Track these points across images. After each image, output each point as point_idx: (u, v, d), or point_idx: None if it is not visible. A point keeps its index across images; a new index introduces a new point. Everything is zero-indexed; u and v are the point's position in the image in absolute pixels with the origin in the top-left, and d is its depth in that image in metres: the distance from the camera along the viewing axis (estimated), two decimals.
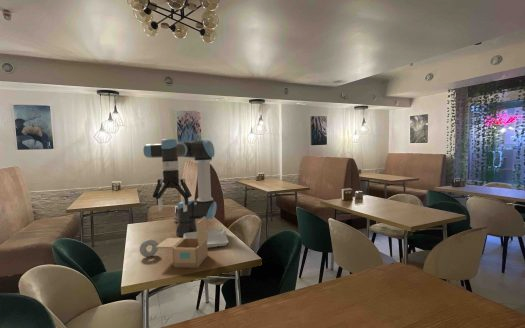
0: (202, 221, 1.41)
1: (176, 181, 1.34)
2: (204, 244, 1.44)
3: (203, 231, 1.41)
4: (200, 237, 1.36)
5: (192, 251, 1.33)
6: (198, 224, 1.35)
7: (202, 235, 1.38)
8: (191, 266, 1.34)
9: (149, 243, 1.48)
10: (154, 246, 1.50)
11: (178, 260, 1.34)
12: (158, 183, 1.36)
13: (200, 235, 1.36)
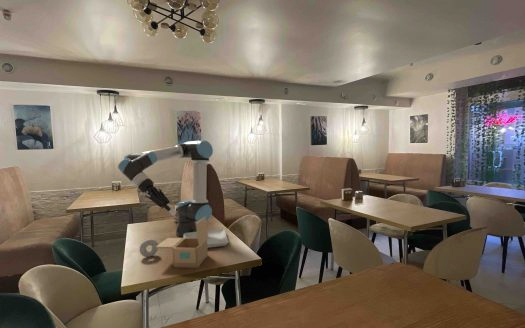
0: (202, 221, 1.41)
1: None
2: (204, 244, 1.44)
3: (203, 231, 1.41)
4: (200, 237, 1.36)
5: (192, 251, 1.33)
6: (198, 224, 1.35)
7: (202, 235, 1.38)
8: (191, 266, 1.34)
9: (149, 243, 1.48)
10: (154, 246, 1.50)
11: (178, 260, 1.34)
12: None
13: (200, 235, 1.36)
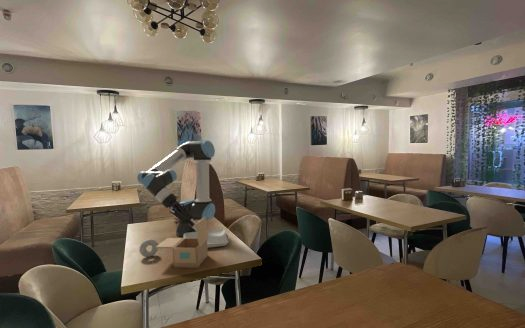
0: (202, 221, 1.41)
1: None
2: (204, 244, 1.44)
3: (203, 231, 1.41)
4: (200, 237, 1.36)
5: (192, 251, 1.33)
6: (198, 224, 1.35)
7: (202, 235, 1.38)
8: (191, 266, 1.34)
9: (149, 243, 1.48)
10: (154, 246, 1.50)
11: (178, 260, 1.34)
12: None
13: (200, 235, 1.36)
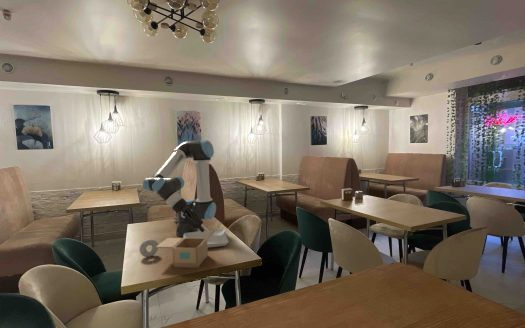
0: None
1: None
2: (204, 244, 1.44)
3: None
4: None
5: (192, 251, 1.33)
6: (214, 231, 1.34)
7: None
8: (191, 266, 1.34)
9: (149, 243, 1.48)
10: (154, 246, 1.50)
11: (178, 260, 1.34)
12: None
13: None
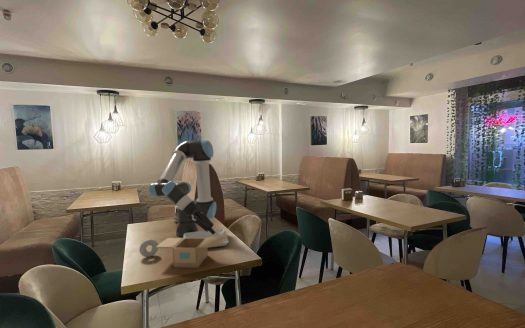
0: None
1: None
2: None
3: None
4: None
5: (192, 251, 1.33)
6: None
7: None
8: (191, 266, 1.34)
9: (149, 243, 1.48)
10: (154, 246, 1.50)
11: (178, 260, 1.34)
12: None
13: None
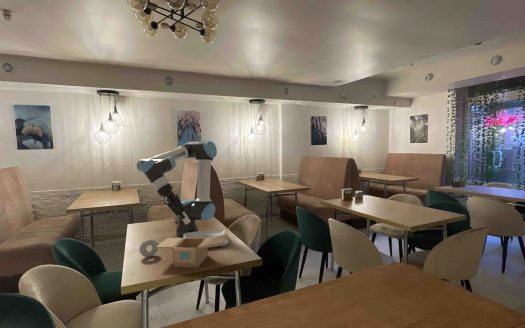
0: None
1: None
2: None
3: None
4: None
5: (192, 251, 1.33)
6: None
7: None
8: (191, 266, 1.34)
9: (149, 243, 1.48)
10: (154, 246, 1.50)
11: (178, 260, 1.34)
12: None
13: None
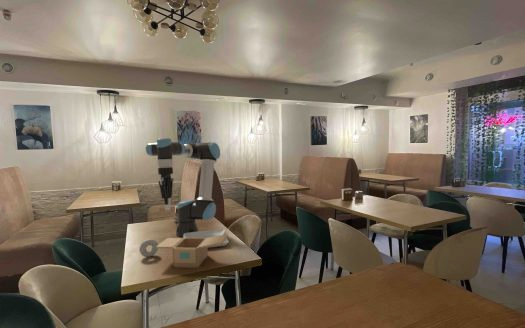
0: None
1: None
2: None
3: None
4: None
5: (192, 251, 1.33)
6: None
7: None
8: (191, 266, 1.34)
9: (149, 243, 1.48)
10: (154, 246, 1.50)
11: (178, 260, 1.34)
12: None
13: None
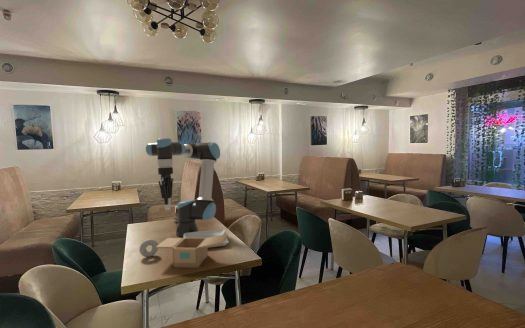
0: None
1: None
2: None
3: None
4: None
5: (192, 251, 1.33)
6: None
7: None
8: (191, 266, 1.34)
9: (149, 243, 1.48)
10: (154, 246, 1.50)
11: (178, 260, 1.34)
12: None
13: None
